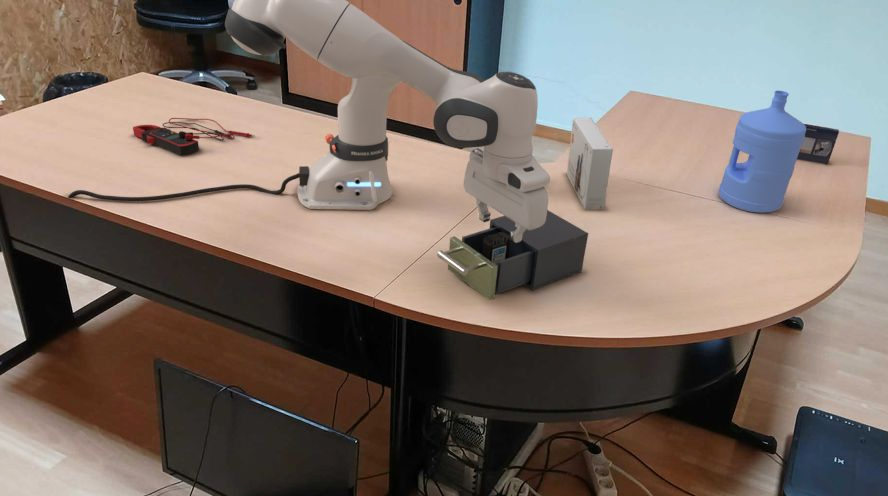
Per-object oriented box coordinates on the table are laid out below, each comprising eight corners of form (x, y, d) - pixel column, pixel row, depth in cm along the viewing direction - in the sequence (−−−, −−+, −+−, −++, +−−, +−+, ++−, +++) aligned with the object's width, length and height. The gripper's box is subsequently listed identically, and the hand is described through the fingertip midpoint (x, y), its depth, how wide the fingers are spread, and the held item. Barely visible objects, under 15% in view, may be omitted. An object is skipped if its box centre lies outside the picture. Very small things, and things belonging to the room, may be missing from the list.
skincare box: (563, 174, 194) (572, 116, 186) (584, 174, 195) (593, 117, 186) (582, 210, 177) (593, 147, 168) (604, 210, 177) (616, 148, 169)
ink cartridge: (487, 277, 144) (490, 241, 139) (480, 272, 145) (483, 236, 141) (506, 271, 146) (510, 235, 142) (499, 266, 148) (503, 231, 143)
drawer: (469, 308, 136) (472, 274, 132) (427, 275, 145) (429, 243, 141) (538, 282, 145) (543, 250, 141) (495, 253, 154) (498, 222, 150)
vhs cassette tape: (761, 152, 217) (771, 120, 212) (761, 149, 219) (771, 117, 214) (827, 165, 212) (839, 132, 206) (827, 161, 214) (839, 129, 209)
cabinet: (532, 290, 144) (538, 250, 139) (486, 258, 154) (490, 219, 149) (581, 272, 152) (588, 233, 147) (534, 242, 161) (539, 205, 156)
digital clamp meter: (183, 145, 184) (123, 120, 196) (185, 162, 186) (126, 136, 198) (255, 122, 200) (196, 100, 212) (256, 138, 203) (198, 115, 214)
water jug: (780, 194, 192) (814, 89, 177) (782, 219, 179) (819, 107, 164) (718, 183, 196) (747, 79, 181) (716, 206, 183) (747, 96, 168)
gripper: (458, 147, 139) (454, 212, 147) (530, 187, 126) (522, 257, 133) (484, 141, 143) (478, 205, 150) (557, 180, 129) (547, 248, 137)
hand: (499, 230), depth 141 cm, fingers open, 8 cm apart
